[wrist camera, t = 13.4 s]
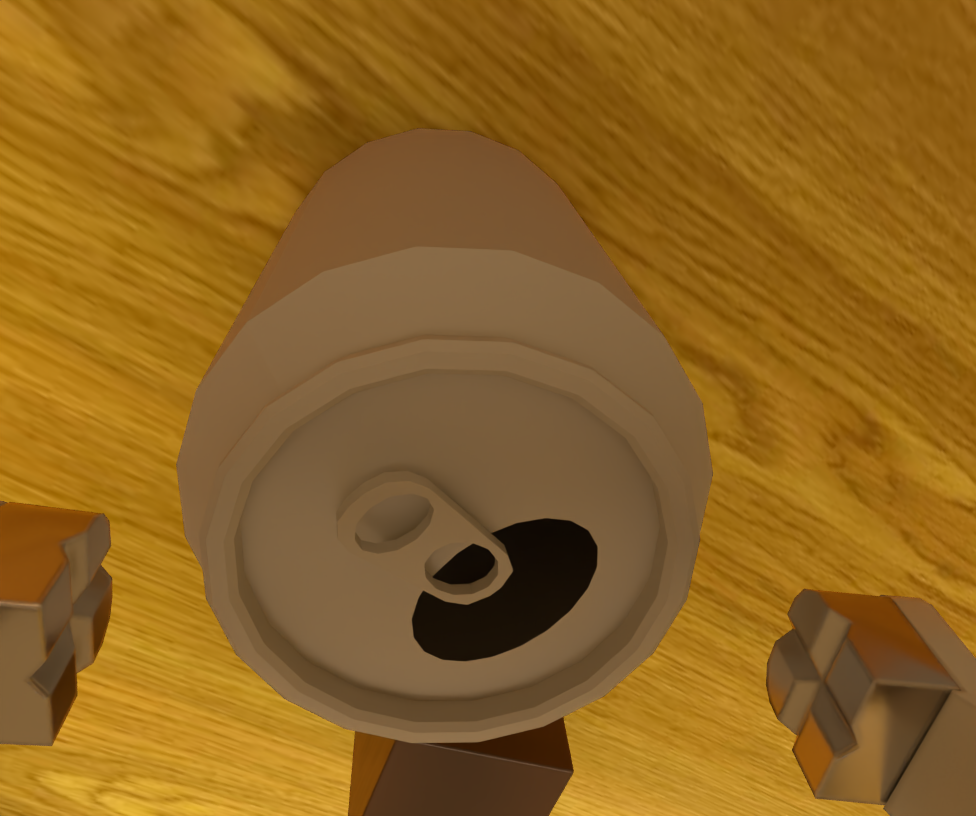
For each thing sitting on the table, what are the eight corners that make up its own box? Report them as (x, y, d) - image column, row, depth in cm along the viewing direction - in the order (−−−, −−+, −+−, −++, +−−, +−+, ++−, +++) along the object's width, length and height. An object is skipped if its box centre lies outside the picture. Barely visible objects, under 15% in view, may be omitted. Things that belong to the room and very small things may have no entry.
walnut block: (549, 641, 27) (575, 772, 22) (495, 746, 29) (509, 885, 24) (400, 606, 25) (396, 737, 21) (355, 719, 27) (343, 859, 23)
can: (430, 458, 23) (439, 860, 12) (222, 268, 20) (1, 580, 10) (642, 285, 21) (866, 584, 11) (445, 48, 18) (481, 132, 8)
